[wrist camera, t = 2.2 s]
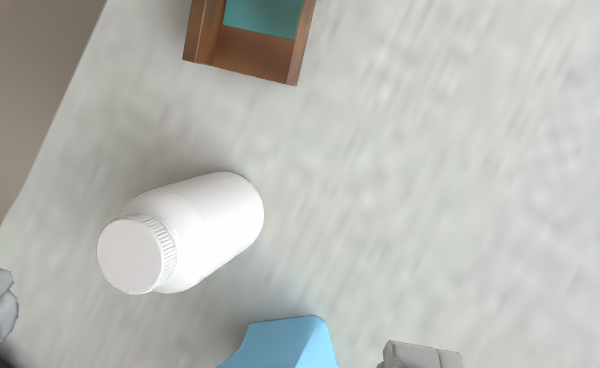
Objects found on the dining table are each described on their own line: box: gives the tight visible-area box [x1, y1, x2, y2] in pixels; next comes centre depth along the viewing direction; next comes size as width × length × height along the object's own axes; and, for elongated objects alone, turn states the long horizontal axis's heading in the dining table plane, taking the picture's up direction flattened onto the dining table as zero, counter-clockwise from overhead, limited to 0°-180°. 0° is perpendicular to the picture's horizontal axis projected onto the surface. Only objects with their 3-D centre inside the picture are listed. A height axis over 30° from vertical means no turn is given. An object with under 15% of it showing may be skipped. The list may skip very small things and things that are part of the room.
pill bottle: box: [96, 172, 264, 295], centre depth 37 cm, size 8×8×15 cm
